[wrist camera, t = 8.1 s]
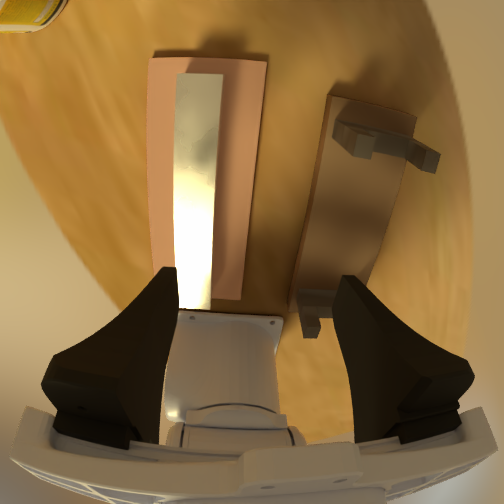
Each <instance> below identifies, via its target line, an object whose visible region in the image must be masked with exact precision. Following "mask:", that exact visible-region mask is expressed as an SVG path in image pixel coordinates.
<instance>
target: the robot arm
mask: <svg viewBox="0 0 504 504" xmlns="http://www.w3.org/2000/svg"><path fill="white" fill-rule="evenodd" d="M179 306H180V299H179V287H178V275H177V267H165V266H163V267H162V268H161V269H160V270H159V271H158V273H157V274H156V275H155V276H154V278H153V279H152V280H151V281H150V282H149V284H148V285H147V286H146V287H145V288H144V289H143V290H142V292H141V293H140V294H139V295H138V296H137V297H136V298H135V299H134V300H133V301H132V302H131V303H130V304H129V305H128V306H127V307H126V308H125V309H124V310H123V311H122V312H121V313H120V314H119V315H118V316H117V317H115V318H114V319H113V320H112V321H111V322H109V323H108V324H107V325H106V326H104V327H103V328H101V329H100V330H99V331H97V332H96V333H94V334H93V335H91V336H90V337H88V338H86V339H85V340H83V341H81V342H80V343H78V344H76V345H74V346H72V347H70V348H68V349H66V350H64V351H62V352H60V353H58V354H55V355H54V356H53V358H52V360H51V361H50V363H49V365H48V368H47V370H46V373H45V375H44V378H43V380H42V382H41V386H42V390H43V391H44V393H45V395H46V396H47V397H48V399H49V400H50V401H51V402H52V404H53V405H54V406H55V407H56V409H57V414H56V417H54V416H53V415H51V414H49V413H47V412H44V411H41V410H38V409H35V408H32V407H29V406H26V407H25V410H24V412H23V415H22V418H21V420H20V423H19V426H18V429H17V432H16V435H15V438H14V441H13V444H12V448H11V451H10V454H9V457H10V459H11V460H13V461H14V462H15V463H17V464H19V465H20V466H21V467H23V468H24V469H26V470H27V471H28V472H30V473H31V474H33V475H35V476H36V477H38V478H39V479H42V480H44V481H47V482H49V483H52V484H54V485H57V486H60V487H63V488H65V489H68V490H71V491H74V492H77V493H80V494H83V495H85V496H89V497H92V498H95V499H98V500H101V501H105V502H108V503H112V504H387V503H386V502H387V501H390V500H393V499H397V498H400V497H403V496H406V495H409V494H412V493H414V492H417V491H420V490H423V489H425V488H428V487H431V486H433V485H435V484H438V483H440V482H443V481H445V480H448V479H450V478H453V477H455V476H457V475H460V474H462V473H464V472H466V471H468V470H470V469H471V468H473V467H474V466H476V465H477V464H479V463H480V462H482V461H483V460H485V459H486V458H488V457H489V456H490V455H492V454H493V453H495V452H496V451H497V450H498V447H497V444H496V441H495V439H494V436H493V434H492V431H491V428H490V426H489V423H488V421H487V418H486V416H485V414H484V411H483V409H482V407H477V408H474V409H471V410H468V411H465V412H463V413H461V414H460V415H459V414H458V411H457V409H459V407H460V405H459V402H458V400H459V398H460V397H461V396H462V395H463V394H464V393H465V392H466V391H467V390H468V389H469V387H470V386H471V385H472V383H473V381H474V378H475V375H474V373H473V371H472V369H471V367H470V365H469V363H468V361H467V360H466V359H464V358H461V357H459V356H457V355H454V354H452V353H450V352H448V351H446V350H444V349H442V348H440V347H439V346H437V345H435V344H433V343H432V342H430V341H429V340H427V339H426V338H424V337H422V336H421V335H419V334H418V333H417V332H415V331H414V330H413V329H411V328H410V327H409V326H407V325H406V324H405V323H404V322H402V321H401V320H400V319H399V318H398V317H397V316H396V315H394V314H393V313H392V312H391V311H390V310H389V309H388V308H387V307H386V306H385V305H384V304H383V303H382V302H381V301H380V300H379V299H378V298H377V297H376V296H375V295H374V294H373V293H372V292H371V291H370V290H369V289H368V288H367V287H366V286H365V285H364V284H363V283H362V282H361V281H360V280H359V279H358V278H357V277H356V276H355V275H342V277H341V280H340V283H339V287H338V290H337V293H336V296H335V299H334V302H333V305H332V315H333V322H334V327H335V331H336V334H337V338H338V341H339V345H340V348H341V351H342V355H343V358H344V361H345V365H346V368H347V373H348V377H349V384H350V390H351V398H352V407H353V418H354V435H355V436H354V439H355V444H354V443H351V442H333V443H324V444H314V445H307V443H306V440H305V438H304V436H303V434H302V433H301V432H300V431H299V430H298V429H297V428H296V427H295V426H287V416H286V415H285V414H280V405H279V394H278V383H277V373H276V362H275V355H276V351H277V347H278V343H279V339H280V335H281V331H282V327H283V323H284V322H283V318H282V317H279V316H258V315H239V314H223V313H209V312H195V311H183V310H179ZM191 316H194V317H191ZM271 321H273V322H271ZM170 348H171V350H170ZM169 352H170V355H169ZM168 356H169V360H168ZM167 360H168V366H167V372H166V379H165V394H164V397H165V398H164V399H165V400H164V402H165V413H166V417H167V419H168V420H170V421H174V422H176V423H175V425H174V426H172V427H171V428H170V429H169V432H168V436H167V440H166V446H164V445H159V427H160V412H161V401H162V391H163V382H164V375H165V369H166V364H167Z"/></svg>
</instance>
